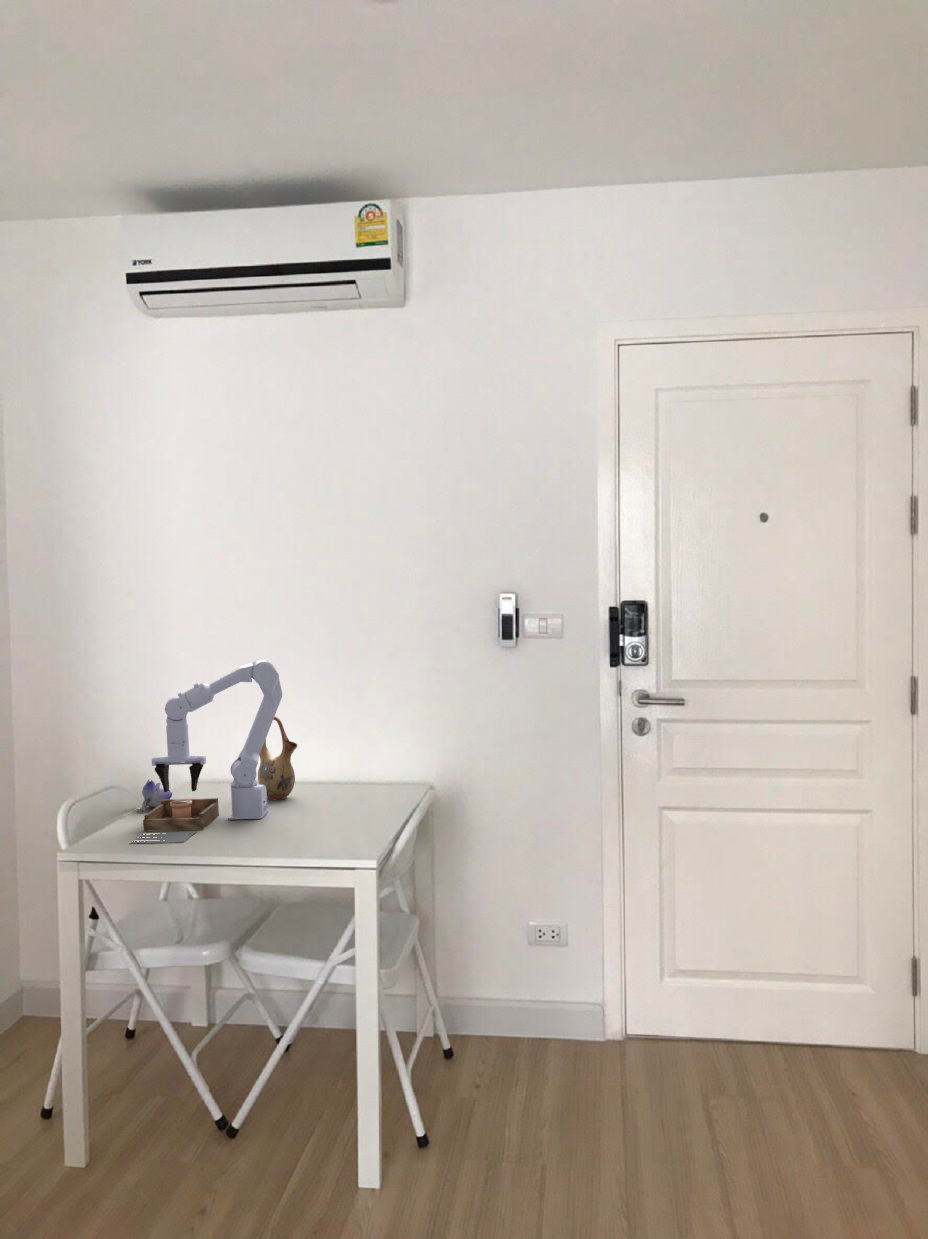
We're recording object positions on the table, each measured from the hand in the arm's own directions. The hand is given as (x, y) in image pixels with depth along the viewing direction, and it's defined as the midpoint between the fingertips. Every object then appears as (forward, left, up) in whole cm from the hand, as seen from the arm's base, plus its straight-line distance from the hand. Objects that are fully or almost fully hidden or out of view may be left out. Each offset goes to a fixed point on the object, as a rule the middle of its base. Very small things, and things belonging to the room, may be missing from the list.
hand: (180, 790), depth 276 cm
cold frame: (0, 0, -9) cm, 9 cm away
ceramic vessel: (-20, -27, -9) cm, 35 cm away
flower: (+14, -18, -9) cm, 24 cm away
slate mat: (0, +15, -9) cm, 17 cm away
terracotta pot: (0, 0, -9) cm, 9 cm away
